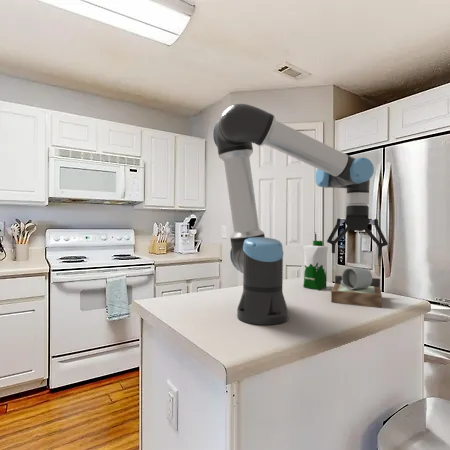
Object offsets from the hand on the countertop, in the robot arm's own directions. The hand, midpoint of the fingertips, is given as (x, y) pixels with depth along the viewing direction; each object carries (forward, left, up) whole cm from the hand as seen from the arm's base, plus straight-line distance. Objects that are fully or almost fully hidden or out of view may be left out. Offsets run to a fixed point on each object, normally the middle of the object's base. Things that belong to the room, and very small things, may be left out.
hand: (355, 263), depth 117 cm
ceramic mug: (-1, +1, -9) cm, 9 cm away
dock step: (0, +1, -13) cm, 13 cm away
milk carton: (-17, +16, -13) cm, 27 cm away
